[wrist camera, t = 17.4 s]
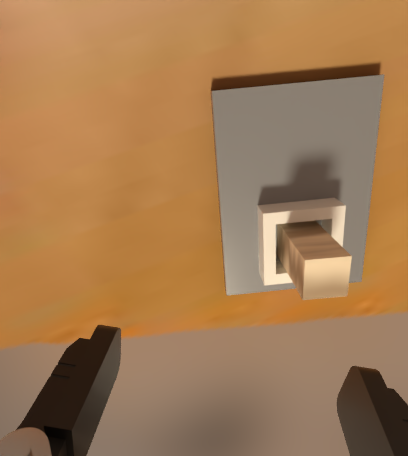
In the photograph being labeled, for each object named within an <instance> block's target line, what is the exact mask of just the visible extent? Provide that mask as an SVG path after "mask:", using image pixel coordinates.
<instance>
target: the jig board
mask: <svg viewBox="0 0 408 456" xmlns="http://www.w3.org/2000/svg"><path fill="white" fill-rule="evenodd" d="M383 82H384V75H374V76H364V77H353V78H343V79H332V80H322V81H311V82H301V83H290V84H280V85H269V86H259V87H248V88H237V89H227V90H216V91H211V100H212V114H213V128H214V141H215V155H216V168H217V182H218V195H219V209H220V222H221V236H222V249H223V263H224V277H225V290H226V295H237V294H246V293H256V292H266V291H275V290H285V289H294V288H296V287H295V285H294V284H293V282H292V280H291V278H290V277H289V275H288V273H287V271H286V270H285V268H284V266H283V264H282V263H281V261H280V259H279V257H278V256H277V224H284V223H294V222H304V221H314V220H315V221H316V222H317V223H318V224H319V225H320V226H321V227H322V228H323V229H324V230H325V231H326V232H327V233H329V234H330V235H331V236H332V237H333V238H334V239H335V240H336V241H337V242H338V243H339V244H340V245H341V246H342V247H343V248H344V249H345V250H346V251H347V252H348V253H349V254H350V255H351V256H352V259H351V268H350V276H349V283H352V282H362V273H363V263H364V254H365V245H366V236H367V227H368V218H369V209H370V200H371V191H372V182H373V172H374V163H375V154H376V145H377V136H378V127H379V118H380V109H381V100H382V91H383Z"/></svg>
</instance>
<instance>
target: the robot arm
mask: <svg viewBox="0 0 408 456" xmlns="http://www.w3.org/2000/svg"><path fill="white" fill-rule="evenodd" d="M120 354H121V329H120V328H117V327H110V326H104V325H98V326H97V327H96V329H95V331H94V333H93V335H92V336H91V338H90V340H89V339H83V338H79V339H78V340H77V341H75V342H74V343H73V344H72V345H70V346H69V347H68V348H67V349H66V351H65V352H64V354H63V355H62V357H61V359H60V360H59V362H58V365H57V366H56V367H55V369H54V370H53V372H52V374H51V377H49V379H48V380H47V382H46V384H45V385H44V387H43V389H42V390H41V392H40V393H39V395H38V397H37V399H36V400H35V402H34V404H33V405H32V407H31V408H30V410H29V412H28V413H27V415H26V417H25V418H24V420H23V421H22V423H21V424H20V426H19V427H18V428H17V429H16V430H15V431H13V432H11V433H9V434H7V435H6V436H5V437H3V438H2V439H1V440H0V456H86V455H87V453H88V450H89V447H90V445H91V442H92V440H93V437H94V434H95V432H96V429H97V426H98V424H99V421H100V419H101V416H102V413H103V411H104V408H105V406H106V403H107V401H108V398H109V395H110V393H111V390H112V388H113V385H114V382H115V380H116V377H117V374H118V370H119V366H120ZM337 412H338V416H339V419H340V423H341V426H342V430H343V433H344V436H345V440H346V443H347V446H348V449H349V453H350V456H408V405H407V404H406V403H405V401H404V400H403V399H402V398H401V397H400V396H399V394H398V393H397V392H396V391H395V390H394V389H390V388H387V387H386V384H385V382H384V380H383V378H382V376H381V374H380V372H379V371H378V370H376V369H370V368H364V367H357V366H352V367H351V368H350V370H349V372H348V375H347V377H346V379H345V381H344V383H343V385H342V388H341V390H340V392H339V394H338V398H337Z"/></svg>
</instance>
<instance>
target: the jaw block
mask: <svg viewBox="0 0 408 456" xmlns="http://www.w3.org/2000/svg"><path fill="white" fill-rule="evenodd" d="M277 256H278V257H279V259H280V261H281V263H282V264H283V266H284V268H285V270H286V271H287V273H288V275H289V277H290V278H291V280H292V282H293V284H294V285H295V287H296V289H297V291H298V292H299V294H300V296H301V298H302V299H303V300H309V299H320V298H331V297H343V296H347V294H348V285H349V276H350V268H351V259H352V256H351V255H350V254H349V253H348V252H347V251H346V250H345V249H344V248H343V247H342V246H341V245H340V244H339V243H338V242H337V241H336V240H335V239H334V238H333V237H332V236H331V235H330V234H329V233H327V232H326V231H325V230H324V229H323V228H322V227H321V226H320V225H319V224H318V223H317V222H316V221H315V220H314V221H304V222H294V223H284V224H277Z"/></svg>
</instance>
